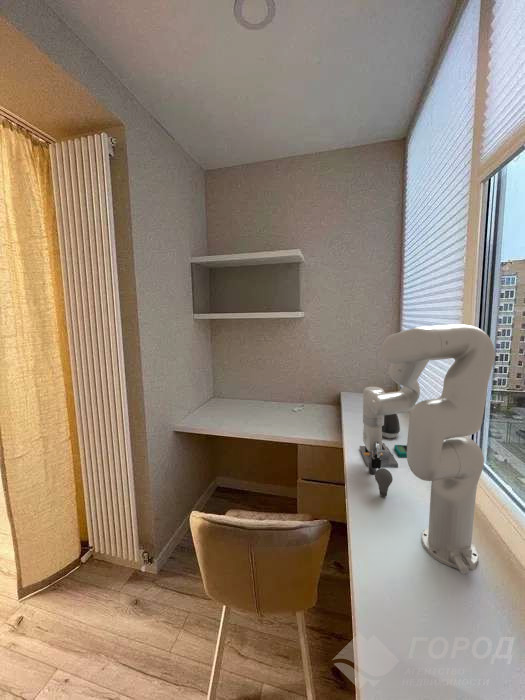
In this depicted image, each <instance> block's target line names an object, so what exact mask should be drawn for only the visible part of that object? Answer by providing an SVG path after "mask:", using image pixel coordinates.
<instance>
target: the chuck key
mask: <svg viewBox="0 0 525 700" xmlns="http://www.w3.org/2000/svg"><path fill="white" fill-rule="evenodd" d="M375 454H376V452H374V456H375ZM364 456H369V467H368V474H370V475H374V476H375V473H376V471H377V469H375V468H372V467H371V463H372V458H373V457H372V451H370V452H369V453H364ZM381 456H383V454H382V453H381Z"/></svg>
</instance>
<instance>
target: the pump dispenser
mask: <svg viewBox="0 0 525 700" xmlns="http://www.w3.org/2000/svg"><path fill="white" fill-rule="evenodd" d="M400 431H401V425H400V419H399V416H398V414H391V415H384V425H383V426H382V437H383V438H386V439H394V438H397V437H398V435H399V433H400Z"/></svg>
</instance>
